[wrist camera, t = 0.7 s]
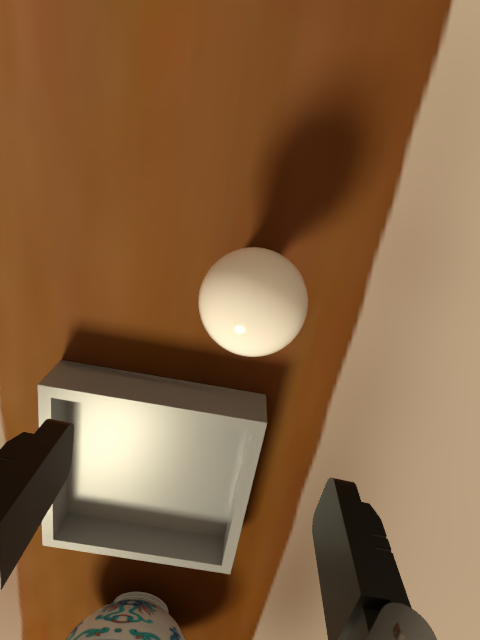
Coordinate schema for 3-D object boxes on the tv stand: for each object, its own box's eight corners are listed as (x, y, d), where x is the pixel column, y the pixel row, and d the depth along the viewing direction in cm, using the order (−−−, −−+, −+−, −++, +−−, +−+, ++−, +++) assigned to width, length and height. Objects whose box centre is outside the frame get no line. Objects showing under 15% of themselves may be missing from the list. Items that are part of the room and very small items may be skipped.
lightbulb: (212, 304, 32) (192, 375, 22) (212, 224, 29) (188, 261, 19) (292, 307, 32) (309, 379, 21) (298, 226, 29) (321, 264, 19)
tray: (61, 359, 34) (37, 384, 30) (266, 394, 35) (267, 423, 31) (61, 510, 41) (42, 545, 37) (232, 537, 42) (230, 574, 38)
